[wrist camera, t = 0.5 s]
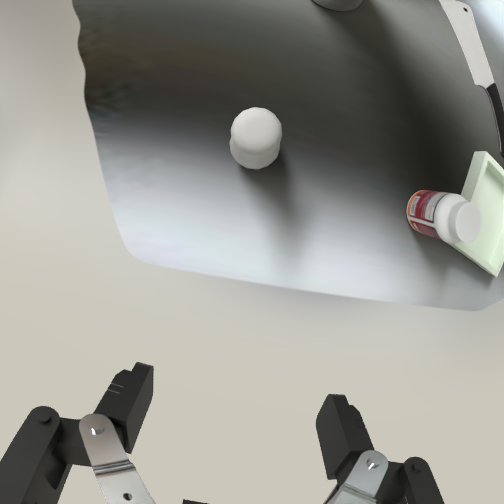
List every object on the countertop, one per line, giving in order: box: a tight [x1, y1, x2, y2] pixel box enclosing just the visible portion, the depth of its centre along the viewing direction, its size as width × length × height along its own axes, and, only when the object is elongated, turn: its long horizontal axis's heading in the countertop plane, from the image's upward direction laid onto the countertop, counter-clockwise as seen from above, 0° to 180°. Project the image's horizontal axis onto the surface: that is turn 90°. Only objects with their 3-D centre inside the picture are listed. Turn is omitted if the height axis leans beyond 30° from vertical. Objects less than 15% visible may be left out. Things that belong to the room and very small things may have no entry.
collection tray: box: [446, 151, 504, 277], centre depth 35 cm, size 16×14×3 cm
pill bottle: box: [407, 190, 482, 244], centre depth 31 cm, size 6×6×11 cm
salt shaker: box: [230, 108, 282, 169], centre depth 28 cm, size 6×6×13 cm
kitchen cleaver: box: [439, 0, 504, 155], centre depth 30 cm, size 31×2×10 cm
